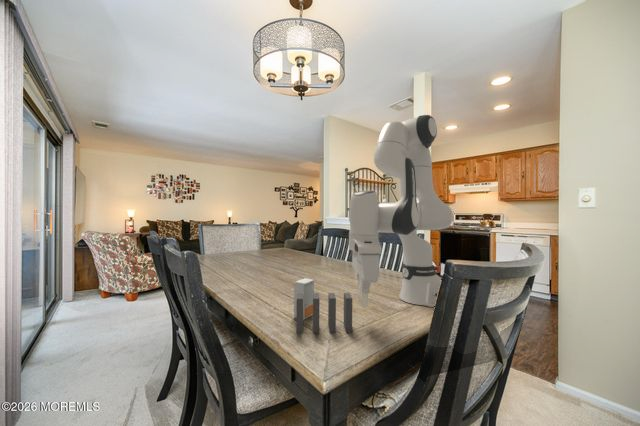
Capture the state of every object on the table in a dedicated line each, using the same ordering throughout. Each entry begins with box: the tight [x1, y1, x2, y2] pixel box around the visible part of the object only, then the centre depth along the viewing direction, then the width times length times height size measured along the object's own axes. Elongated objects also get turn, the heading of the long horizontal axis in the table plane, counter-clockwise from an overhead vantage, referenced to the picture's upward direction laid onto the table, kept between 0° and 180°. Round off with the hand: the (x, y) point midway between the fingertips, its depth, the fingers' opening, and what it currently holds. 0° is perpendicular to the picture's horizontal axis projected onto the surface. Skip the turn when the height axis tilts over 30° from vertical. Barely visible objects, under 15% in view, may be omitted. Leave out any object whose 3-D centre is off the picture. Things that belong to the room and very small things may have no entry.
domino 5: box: [358, 276, 369, 308], centre depth 77 cm, size 2×5×10 cm, turn 3°
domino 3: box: [327, 292, 337, 334], centre depth 76 cm, size 2×5×10 cm, turn 3°
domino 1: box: [295, 293, 304, 334], centre depth 76 cm, size 2×5×10 cm, turn 3°
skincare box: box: [293, 277, 315, 321], centre depth 86 cm, size 6×4×12 cm
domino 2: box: [312, 292, 320, 334], centre depth 76 cm, size 2×5×10 cm, turn 3°
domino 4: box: [343, 292, 353, 334], centre depth 77 cm, size 2×5×10 cm, turn 3°
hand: (363, 289), depth 77 cm, fingers closed on domino 5, 5 cm apart
